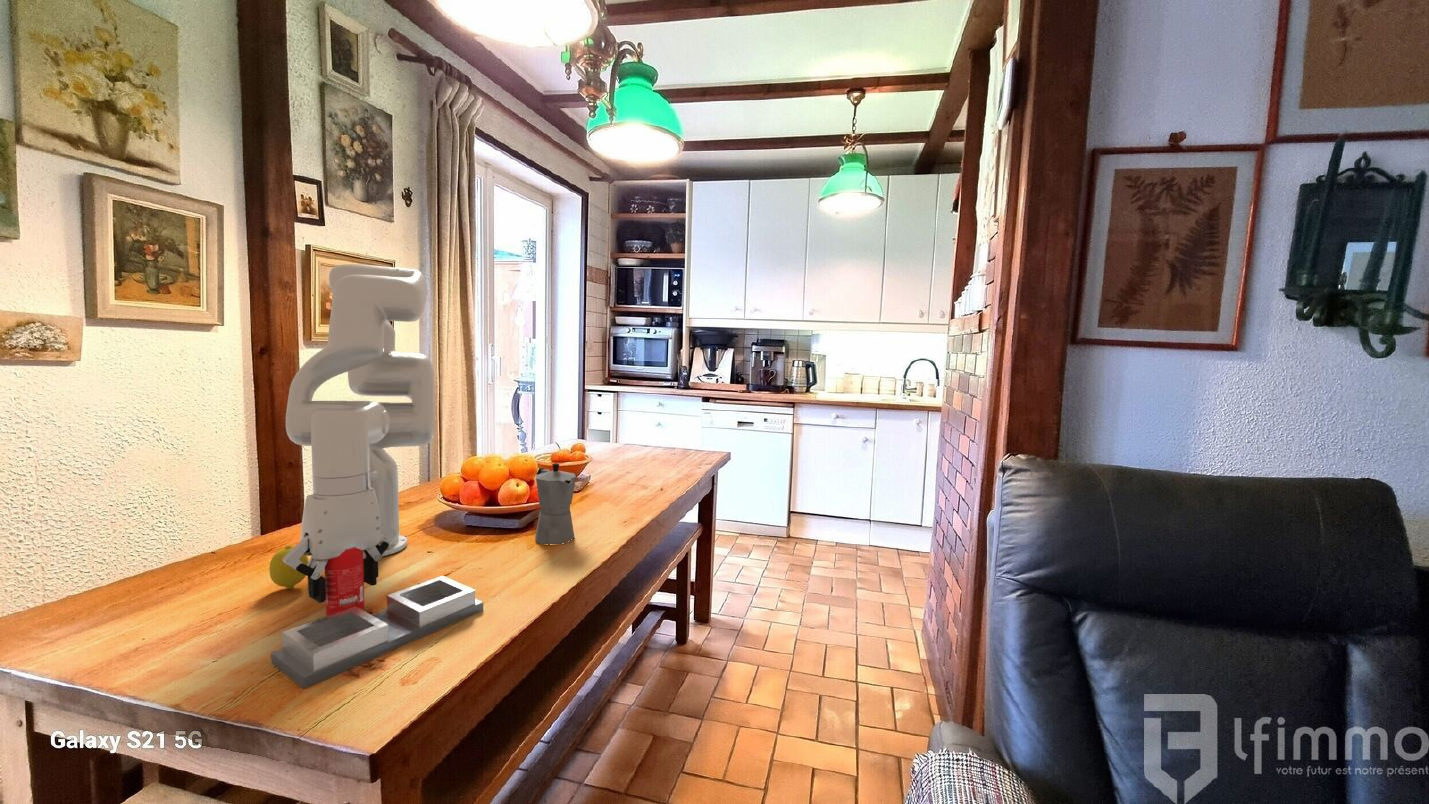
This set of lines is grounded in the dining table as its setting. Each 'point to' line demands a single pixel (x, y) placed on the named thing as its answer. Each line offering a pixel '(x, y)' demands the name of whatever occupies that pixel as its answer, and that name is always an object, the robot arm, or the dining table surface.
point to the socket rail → (372, 630)
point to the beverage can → (344, 581)
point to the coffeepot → (554, 505)
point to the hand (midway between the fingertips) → (345, 590)
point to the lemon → (285, 569)
